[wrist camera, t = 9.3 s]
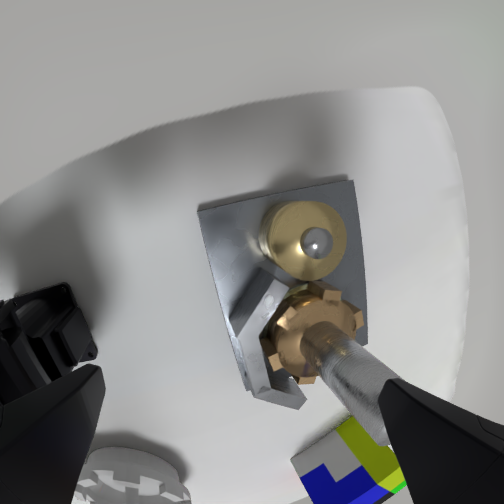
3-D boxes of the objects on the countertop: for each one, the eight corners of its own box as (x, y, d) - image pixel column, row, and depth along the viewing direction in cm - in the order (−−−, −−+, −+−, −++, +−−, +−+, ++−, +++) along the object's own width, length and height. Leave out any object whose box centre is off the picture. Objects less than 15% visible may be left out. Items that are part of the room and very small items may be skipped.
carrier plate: (247, 394, 23) (263, 434, 17) (196, 211, 19) (202, 215, 14) (362, 349, 25) (394, 375, 20) (346, 180, 21) (389, 177, 16)
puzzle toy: (289, 459, 26) (321, 518, 17) (356, 411, 27) (403, 463, 18) (322, 476, 29) (351, 522, 20) (377, 436, 30) (415, 477, 21)
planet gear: (274, 380, 21) (341, 489, 10) (245, 307, 20) (322, 425, 8) (352, 340, 23) (446, 416, 11) (337, 266, 21) (462, 325, 9)
